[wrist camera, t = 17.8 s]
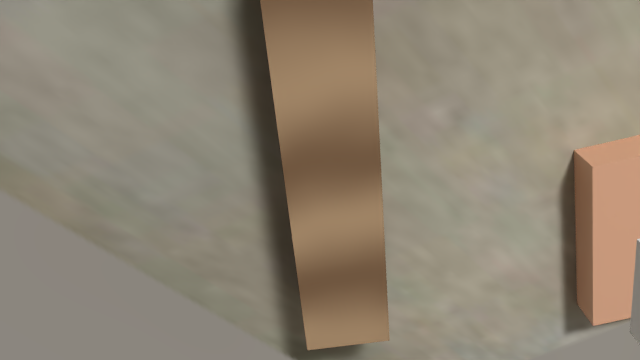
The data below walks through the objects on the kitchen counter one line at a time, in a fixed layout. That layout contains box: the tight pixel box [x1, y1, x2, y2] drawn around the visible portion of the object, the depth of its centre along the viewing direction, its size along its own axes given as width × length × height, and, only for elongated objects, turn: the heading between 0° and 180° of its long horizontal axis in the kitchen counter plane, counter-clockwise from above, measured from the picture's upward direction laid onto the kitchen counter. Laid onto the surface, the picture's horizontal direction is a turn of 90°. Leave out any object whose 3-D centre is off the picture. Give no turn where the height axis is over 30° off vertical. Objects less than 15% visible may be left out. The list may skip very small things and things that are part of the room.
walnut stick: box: [260, 0, 389, 350], centre depth 26 cm, size 20×4×4 cm, turn 5°
